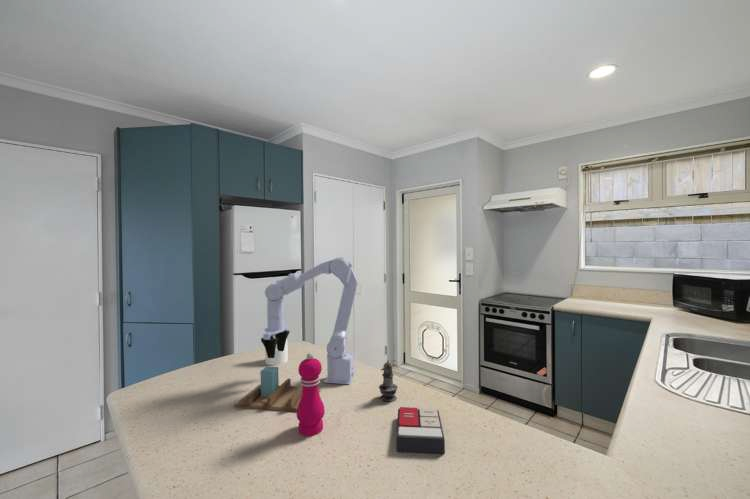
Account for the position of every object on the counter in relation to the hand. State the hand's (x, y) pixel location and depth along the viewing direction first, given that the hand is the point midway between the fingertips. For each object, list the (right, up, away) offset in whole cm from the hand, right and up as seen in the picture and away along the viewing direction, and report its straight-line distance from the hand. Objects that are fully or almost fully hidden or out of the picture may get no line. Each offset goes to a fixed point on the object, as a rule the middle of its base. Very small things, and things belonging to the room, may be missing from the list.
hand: (276, 354), depth 116 cm
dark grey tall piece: (+40, -9, -15) cm, 44 cm away
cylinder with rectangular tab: (-6, -10, +20) cm, 23 cm away
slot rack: (+6, -9, -14) cm, 18 cm away
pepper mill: (+19, -9, -32) cm, 38 cm away
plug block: (+2, -8, -14) cm, 16 cm away
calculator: (+47, -9, -35) cm, 59 cm away
